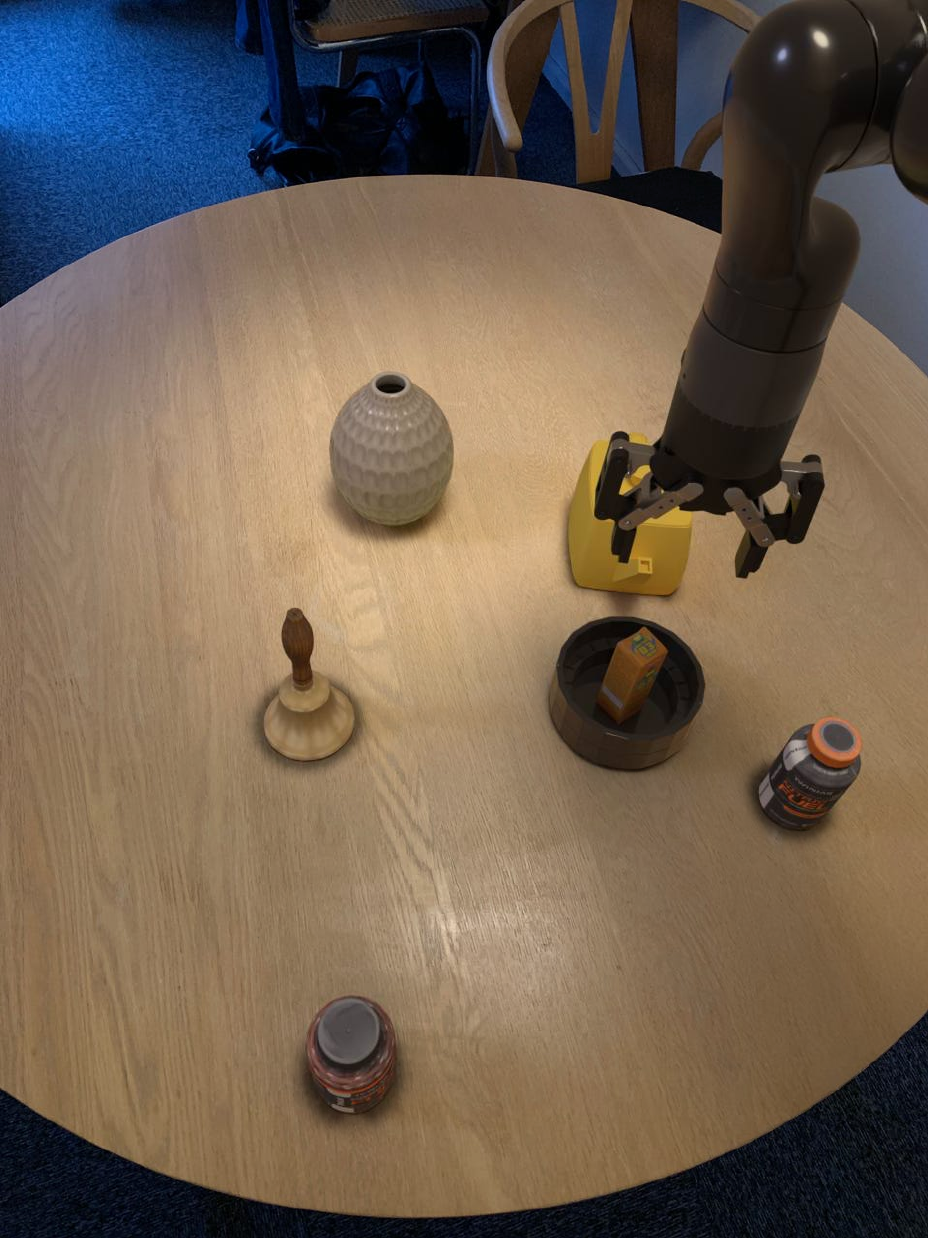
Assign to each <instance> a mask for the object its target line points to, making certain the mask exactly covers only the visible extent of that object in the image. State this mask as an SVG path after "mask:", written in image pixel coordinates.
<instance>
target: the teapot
mask: <svg viewBox="0 0 928 1238" xmlns="http://www.w3.org/2000/svg"><path fill="white" fill-rule="evenodd" d="M627 434H628V435H629V442H633V443H639V444H645V445H651V446H652V445H653V444H654V443H648V437H647V436H646V435H645V434H644V433H641V432H630V433H627ZM609 442H610V439H609V440H606V439H598V440H596V441H594V443H592V446H591V448H590V450H589V452H588V455H587V457H586V459H585V461H584V464H583V466H582V467H581V470H580V473H579V476H578V478H577V482H576V486H575V489H574V493H573V497H572V500H571V505H570V511H569V518H568V549H569V558H570V564H571V571H572V576H573V579H574V582H575V583H576V585H578V587H583V588H587V589H593V590H600V591H608V592H610V591H611V592H618V593H627V594H640V595H653V596H654V595H655V596H667V595H668V596H670V595H671V594H673V592H674V591H675V590H676V589H677V588H678V587H679V585H680V584H681V582H682V580H683V578H684V574H685V571H686V567H687V564H688V560H689V555H690V549H691V541H692V533H693V521H694V519H693V518H694V512H689V511H681V510H679V507H678V506H677V507H675V508H674V509H672V510H671V511H669V512H667V513H666V514H664V515H663V516H661V517H659V518H658V519H653V518H649V519H648V520H646V521H645V522H643V523H641V524H640V525H638V526H637V533H636V536H635V540H634V543H633V547H632V551H631V554H630V558H629V562H628V564H626V563H618V556H617V555H612V552H611V536H612V531H613V527H614V523H615V522H614V521H613V520H611V519H608V520H598V519H597V518H595V516H594V505H595V489H596V485H597V482H598V479H599V475H600V472H601V469H602V465H603V462H604V459H605V455H606V452H607V449H608V446H609ZM650 471H651V470H650V467H649V465H644V466H641V467H639V468H638V469H637V471H636V472H635V473H634V474H632V476H631V478H629V479H627V478H625V477H624V479H623V482H622V485H621V488H620V491H619V494H621V495H623V494H624V493H626V492H627V491H629V490H630V489H632V488H633V487H635V486H636V485H638V484H639V483H640V482H641V480H642V478H643V477H644V476H645V475H646V474H647V473H648V472H650ZM663 492H664V491H663V489H662V491H661V494H662V493H663Z"/></svg>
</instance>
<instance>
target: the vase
mask: <svg viewBox="0 0 928 1238" xmlns="http://www.w3.org/2000/svg"><path fill="white" fill-rule="evenodd" d="M334 419H335V420H334V422H333V424H332V425H333V426H332V427H331V432H330V437H329V446H328V454H329V465H330V471H331V475H332V478H333V481H334V483H335V485H336V487H337V490H338V492H339V493H340V495H341V497H342V498H343V499H344V501H346V503H347V504H348V505H349V506H350V507H351V508H352V509H353V510H354V511H355V512H356V513H358V514H359V515H360V516H361V517H363V518H364V519H367V520H368V521H370V522H373V523H376V524H379V525H383V526H387V527H397V526H403V525H407V524H410V523H413V522H415V521H417V520H419V519H421V518H423V517H424V516H425V515H426V514H427V513H428V512H430V511H431V510H432V509H433V508H434V507H435V506H436V505H437V503H438V502H439V501H440V499H441V498H442V497H443V495H444V494H445V492H446V490H447V488H448V485H449V483H450V481H451V477H452V473H453V468H454V461H455V460H454V458H455V457H454V456H455V446H454V438H453V437H454V436H453V434H452V430H451V427H450V424H449V422H448V419H447V417H446V415H445V413H444V411H443V409H442V408H441V407H440V405H439V404H438V402H437V401H436V400H435V398H433V396H431V394H429V393H428V392H427V391H426V390H424V389H423V388H422V387H421V386H419V385H418V384H416V383H414V382H412V381H411V379H410V378H409V377H408V376H407V375H406V374H404V373H401V372H398V371H383V372H380V373H377V374H375V376H373V377H372V379H371V380H370V381H369V382H367V383H366V384H364V385H362V386H361V387H359V388H358V389H356V391H354V392H353V393H352V394H351V395H350V397H348V398H347V400H345V402H344V404H343V405H342V407H341V409H340V410H339V411H338V413H337V416H336V417H335V418H334Z"/></svg>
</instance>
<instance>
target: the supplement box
mask: <svg viewBox="0 0 928 1238" xmlns="http://www.w3.org/2000/svg"><path fill="white" fill-rule="evenodd" d="M667 653H668V650H667V649H666V648H665V647H664V646H663V644H662V643H661V642H660V641H659V640H658V639H657V638H656V637H655V636H654V635H653V634H652V633H651V632H650V631H649V630H648V629H647V628H646V627H643V628H641V629H640V630H639V631H638V632H637V633H635V634H634V635H632V636H630V637H628V638H627V639H624V640H622V641H620V642H619V643H618V644H617V646H616V648H615V651H614V654H613V656H612V659H611V662H610V664H609V667H608V670H607V672H606V675H605V678H604V681H603V683H602V686H601V689H600V692H599V695H598V697H597V703H598V704H599V705H600V706H601V707H602V708H603V709H604V710H605V712H606V713H607V714H608V715H609V716H610V717H611V718H612V719H613V720H614V721H615V722H616V723H617V724H620V723H622V722H623V721H625V720H626V719H628V718H629V717H631V716H632V715H634V714H635V713H637V712H638V711H640V710H641V709H642V707H643V705H644V703H645V701H646V699H647V696H648V694H649V692H650V690H651V688H652V686H653V683H654V681H655V679H656V677H657V675H658V673H659V670H660V668H661V666H662V664H663V661H664V659H665V657H666V655H667Z"/></svg>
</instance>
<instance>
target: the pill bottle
mask: <svg viewBox="0 0 928 1238" xmlns="http://www.w3.org/2000/svg"><path fill="white" fill-rule="evenodd" d="M862 749H863V741H862V737H861V735H860V733H859V731H858V730H857V729H856V728H855V727H854V726H853V725H852V724H851V723H850V722H848V721H846V720H844V719H842V718H839V717H833V716H828V717H823V718H820V719H819V720H817V721H816V722H815V723H810V724H806V725H803V726H801V727H800V728H797V730H795V731H794V732H793V733H792V734H791V736H790V737H789V739H788V740H787V742H786V744H785V745H784V746H783V748H782V749H781V751H780V752H779V753H778V755H777V756H776V758H775V760H774V761H773V763H771V765H770V767H769V769H768V770H767V771H766V772H765V774H764V776H763V777H762V778H761V781H760V783H759V786H758V798H759V802H760V804H761V807H762V809H763V811H764V812H765V813H766V814H767V815H768V817H769V818H770V819H771V820H773V821H774V822H775V823H777V824H778V825H780V826H783V827H784V828H787V829H791V830H795V831H798V830H799V831H803V830H807V829H811V828H813V827H815V826H816V825H818V824H819V823H820V822H821V821H822V820H823V819H824V818H825V816H826V815H827V814H828V813H829V812H830V811H831V809H833V808H834V806H835V805H836V804H837V802H839V800H840V799H841V798H842V796H843V795H844V794H845V793H846V792H847V791H848V789H849V788H850V787H851V786H852V785H853V783H855V781H856V780H857V779H858V777H859V774H860V772H861V767H862V758H861V752H862Z"/></svg>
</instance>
